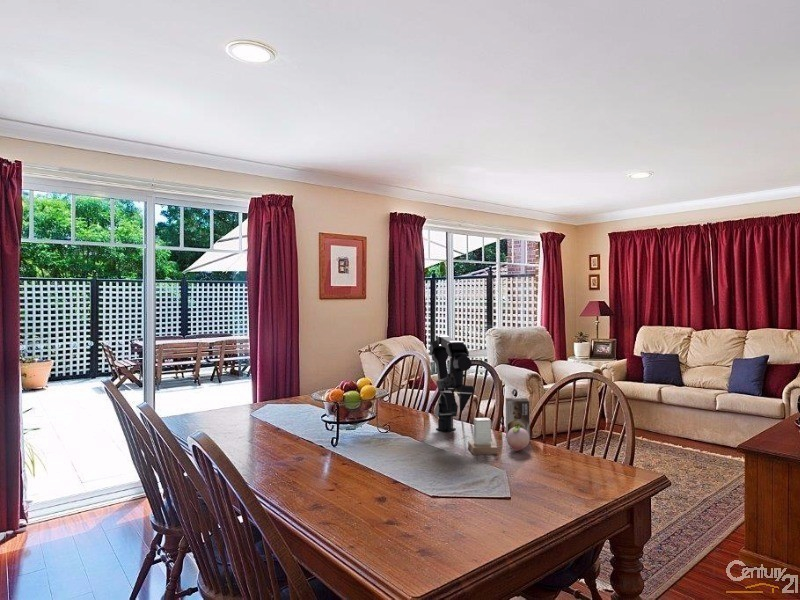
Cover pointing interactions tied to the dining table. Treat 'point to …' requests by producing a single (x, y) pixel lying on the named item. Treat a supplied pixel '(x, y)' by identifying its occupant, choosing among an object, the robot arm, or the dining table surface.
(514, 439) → the decorative fruit
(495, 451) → the plinth
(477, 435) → the tea tin
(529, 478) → the dining table surface
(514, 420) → the coffee box
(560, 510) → the dining table surface
